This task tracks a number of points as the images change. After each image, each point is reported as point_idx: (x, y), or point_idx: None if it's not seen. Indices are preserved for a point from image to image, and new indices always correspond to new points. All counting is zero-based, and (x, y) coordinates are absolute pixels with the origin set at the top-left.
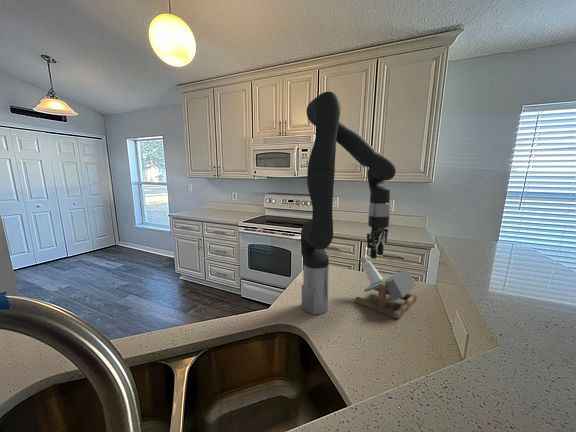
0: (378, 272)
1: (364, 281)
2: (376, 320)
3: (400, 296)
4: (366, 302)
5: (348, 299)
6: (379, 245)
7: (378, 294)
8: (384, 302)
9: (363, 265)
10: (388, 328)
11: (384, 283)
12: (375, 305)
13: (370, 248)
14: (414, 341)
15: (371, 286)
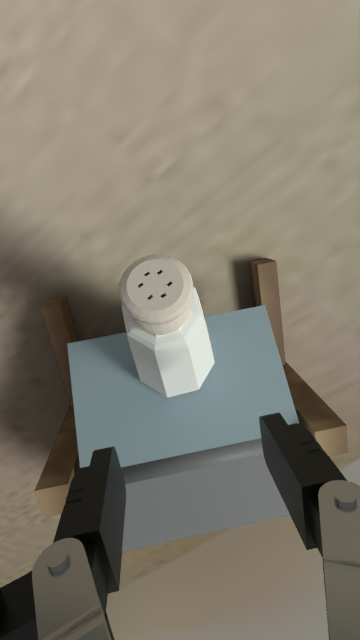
0: (195, 378)
1: (284, 166)
2: (19, 430)
3: None
4: (57, 359)
5: (40, 259)
6: (312, 510)
7: (54, 445)
8: None
9: (123, 312)
10: (18, 476)
11: (61, 507)
12: (68, 398)
13: (21, 581)
14: (34, 543)
15: (96, 375)
